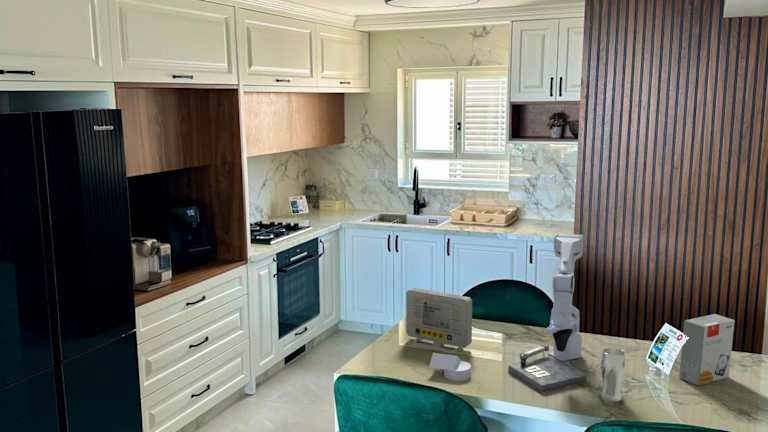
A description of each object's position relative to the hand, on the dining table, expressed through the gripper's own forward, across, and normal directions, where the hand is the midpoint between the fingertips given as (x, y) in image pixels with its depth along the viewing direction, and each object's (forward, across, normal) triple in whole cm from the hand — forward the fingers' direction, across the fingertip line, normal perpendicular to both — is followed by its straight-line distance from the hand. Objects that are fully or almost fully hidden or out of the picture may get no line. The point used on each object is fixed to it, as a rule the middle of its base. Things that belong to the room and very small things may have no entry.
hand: (560, 350), depth 217 cm
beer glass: (+10, 0, +18) cm, 21 cm away
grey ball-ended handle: (+6, -3, -12) cm, 14 cm away
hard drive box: (+10, -36, +31) cm, 49 cm away
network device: (+10, +6, -49) cm, 50 cm away
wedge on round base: (+10, +22, -27) cm, 37 cm away
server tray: (+10, +1, -4) cm, 11 cm away
